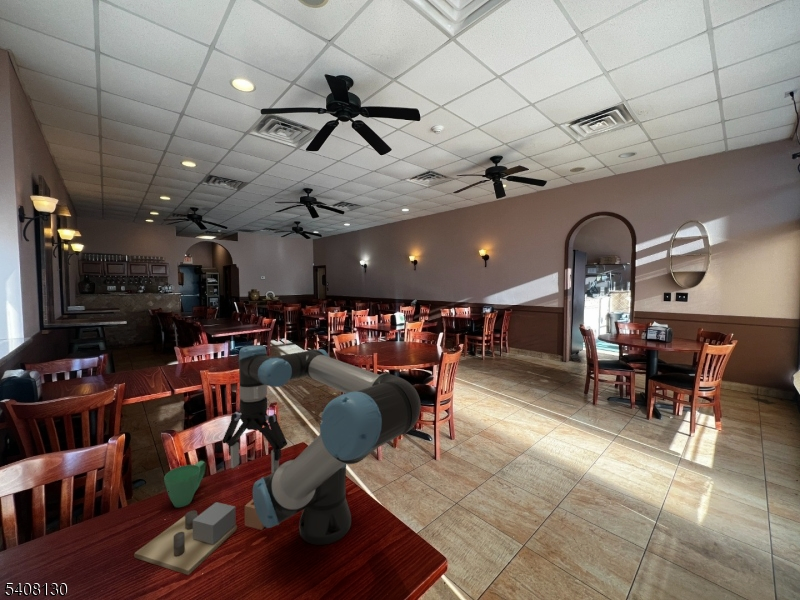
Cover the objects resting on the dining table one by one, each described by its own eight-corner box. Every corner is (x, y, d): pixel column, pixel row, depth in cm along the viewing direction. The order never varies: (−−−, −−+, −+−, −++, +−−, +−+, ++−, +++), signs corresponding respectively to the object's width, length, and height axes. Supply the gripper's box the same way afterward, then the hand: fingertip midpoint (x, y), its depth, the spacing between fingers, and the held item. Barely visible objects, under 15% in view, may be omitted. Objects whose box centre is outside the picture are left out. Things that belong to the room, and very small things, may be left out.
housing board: (236, 529, 97) (236, 509, 97) (188, 575, 81) (188, 551, 81) (188, 516, 102) (188, 497, 101) (134, 557, 86) (134, 535, 86)
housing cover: (235, 524, 97) (235, 506, 97) (213, 544, 89) (213, 525, 89) (216, 519, 99) (216, 501, 99) (192, 538, 91) (192, 520, 91)
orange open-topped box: (274, 516, 103) (274, 497, 102) (261, 529, 97) (261, 510, 97) (258, 512, 104) (258, 493, 104) (244, 525, 98) (244, 506, 98)
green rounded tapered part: (184, 514, 103) (184, 483, 102) (156, 511, 104) (156, 480, 104) (216, 486, 117) (216, 458, 117) (191, 483, 119) (191, 456, 118)
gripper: (298, 396, 100) (299, 465, 100) (226, 392, 105) (227, 458, 105) (284, 404, 92) (285, 479, 93) (208, 399, 98) (209, 470, 98)
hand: (254, 468), depth 99 cm, fingers open, 13 cm apart
